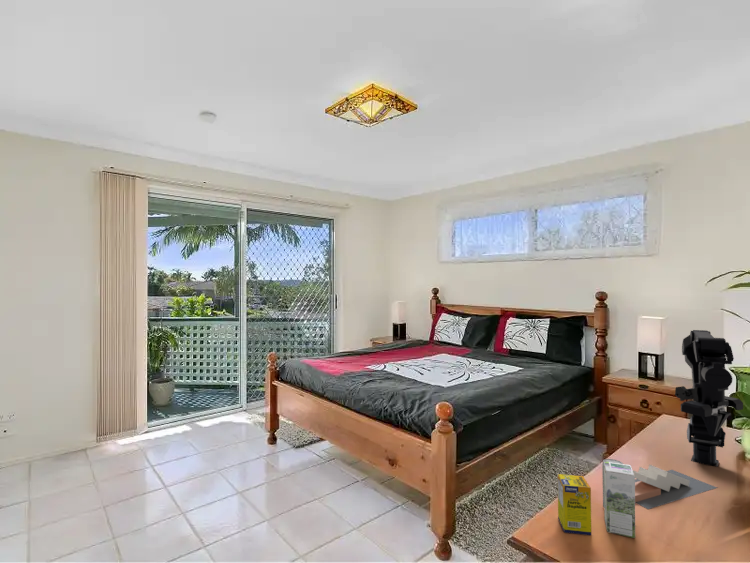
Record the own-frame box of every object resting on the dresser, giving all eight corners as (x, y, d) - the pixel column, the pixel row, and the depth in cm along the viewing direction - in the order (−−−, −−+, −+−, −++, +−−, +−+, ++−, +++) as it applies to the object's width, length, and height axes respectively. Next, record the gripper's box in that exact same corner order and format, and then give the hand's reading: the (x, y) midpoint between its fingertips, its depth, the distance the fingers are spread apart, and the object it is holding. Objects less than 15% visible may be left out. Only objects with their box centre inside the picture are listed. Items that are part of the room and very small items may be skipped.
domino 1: (652, 477, 116) (629, 468, 112) (670, 485, 111) (647, 476, 108) (650, 483, 115) (627, 474, 112) (669, 491, 111) (645, 482, 107)
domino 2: (661, 475, 117) (639, 466, 114) (680, 483, 112) (657, 474, 109) (660, 481, 117) (638, 472, 113) (679, 489, 112) (656, 480, 109)
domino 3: (671, 473, 119) (649, 464, 115) (689, 480, 114) (667, 471, 111) (669, 478, 118) (647, 469, 115) (688, 486, 114) (666, 477, 110)
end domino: (642, 480, 114) (616, 487, 110) (660, 488, 109) (634, 496, 106) (642, 486, 114) (616, 493, 110) (660, 494, 109) (634, 502, 106)
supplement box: (592, 536, 93) (591, 487, 93) (563, 533, 94) (563, 485, 94) (584, 521, 99) (583, 475, 99) (557, 518, 100) (557, 473, 100)
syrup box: (632, 525, 97) (631, 463, 97) (636, 539, 91) (634, 474, 91) (604, 519, 99) (603, 459, 99) (606, 533, 94) (605, 469, 94)
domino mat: (672, 471, 124) (671, 469, 124) (717, 489, 113) (717, 487, 113) (605, 489, 114) (605, 487, 114) (648, 511, 102) (648, 509, 102)
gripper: (700, 372, 129) (701, 422, 129) (661, 378, 122) (662, 431, 122) (743, 380, 119) (744, 434, 118) (703, 386, 112) (704, 444, 111)
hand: (712, 435), depth 118 cm, fingers closed
